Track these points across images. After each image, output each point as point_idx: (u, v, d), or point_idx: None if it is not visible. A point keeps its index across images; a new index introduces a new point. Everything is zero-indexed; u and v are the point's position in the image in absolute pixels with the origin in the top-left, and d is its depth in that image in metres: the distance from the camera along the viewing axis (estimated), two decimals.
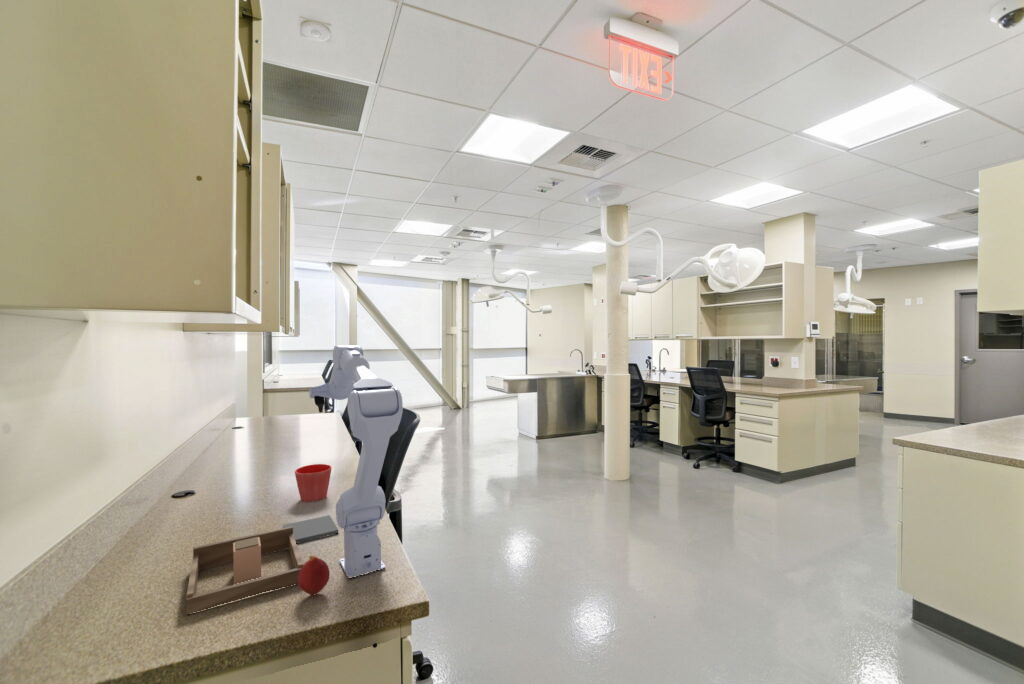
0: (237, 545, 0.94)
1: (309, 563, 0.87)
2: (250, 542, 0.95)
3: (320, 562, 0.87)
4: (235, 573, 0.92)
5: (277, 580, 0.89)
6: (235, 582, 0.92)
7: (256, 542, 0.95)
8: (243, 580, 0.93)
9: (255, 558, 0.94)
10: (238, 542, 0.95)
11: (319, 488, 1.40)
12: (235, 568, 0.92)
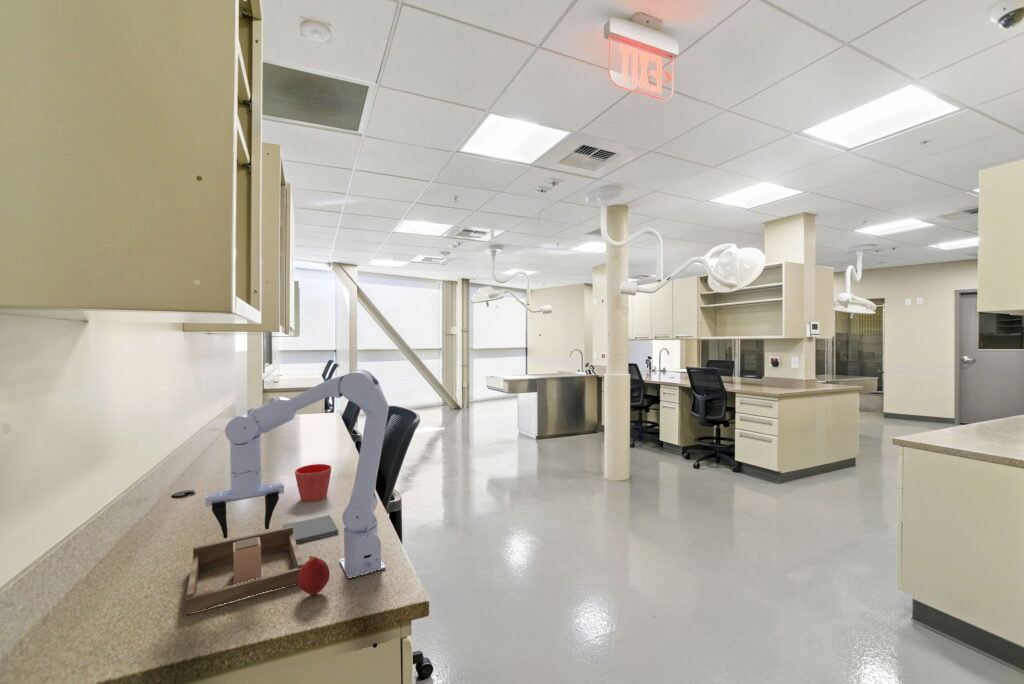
0: (237, 545, 0.94)
1: (309, 563, 0.87)
2: (250, 542, 0.95)
3: (320, 562, 0.87)
4: (235, 573, 0.92)
5: (277, 580, 0.89)
6: (235, 582, 0.92)
7: (256, 542, 0.95)
8: (243, 580, 0.93)
9: (255, 558, 0.94)
10: (238, 542, 0.95)
11: (319, 488, 1.40)
12: (235, 568, 0.92)
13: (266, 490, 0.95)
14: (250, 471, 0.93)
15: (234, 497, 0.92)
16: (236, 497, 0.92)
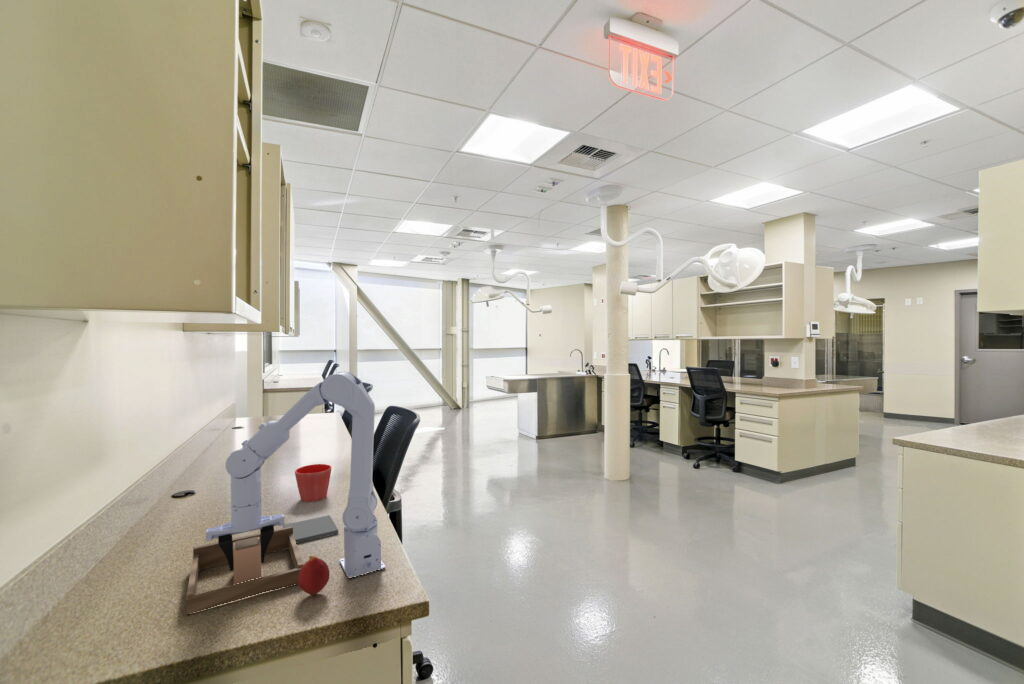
0: (237, 545, 0.94)
1: (309, 563, 0.87)
2: (250, 542, 0.95)
3: (320, 562, 0.87)
4: (235, 573, 0.92)
5: (277, 580, 0.89)
6: (235, 582, 0.92)
7: (256, 542, 0.95)
8: (243, 580, 0.92)
9: (255, 558, 0.94)
10: (238, 542, 0.95)
11: (319, 488, 1.40)
12: (235, 568, 0.92)
13: (266, 523, 0.95)
14: (250, 505, 0.93)
15: (235, 531, 0.92)
16: (237, 531, 0.92)
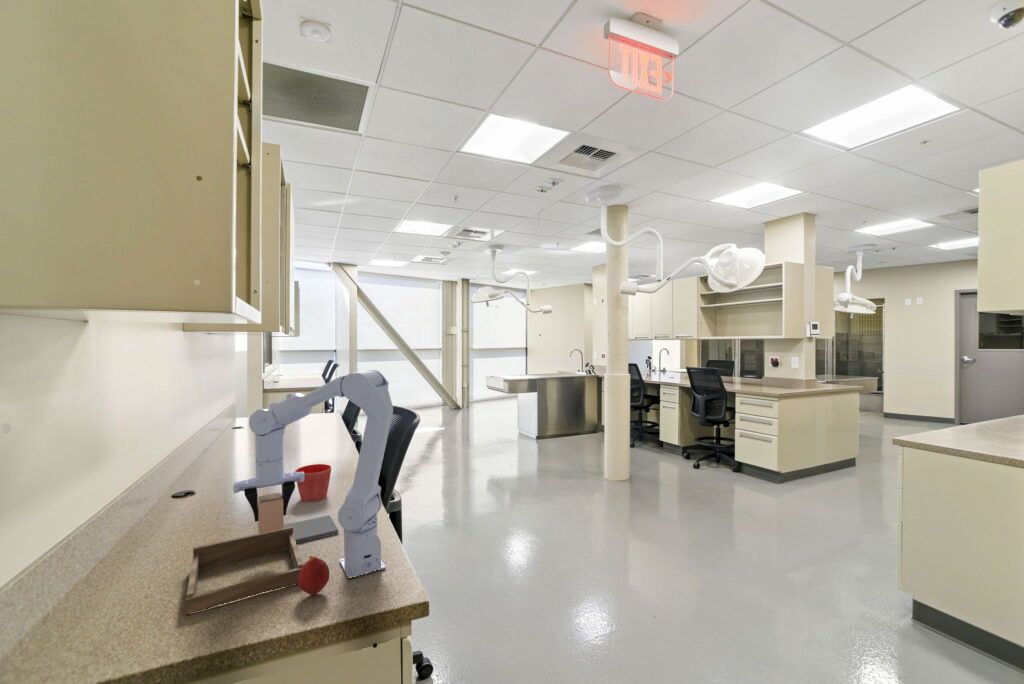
0: (261, 498, 1.01)
1: (309, 563, 0.87)
2: (273, 496, 1.02)
3: (320, 562, 0.87)
4: (260, 523, 0.99)
5: (277, 580, 0.89)
6: (260, 532, 0.99)
7: (278, 496, 1.02)
8: (267, 530, 1.00)
9: (278, 510, 1.01)
10: (262, 496, 1.03)
11: (319, 488, 1.40)
12: (260, 519, 0.99)
13: (288, 478, 1.03)
14: (274, 460, 1.01)
15: (259, 484, 0.99)
16: (261, 484, 0.99)
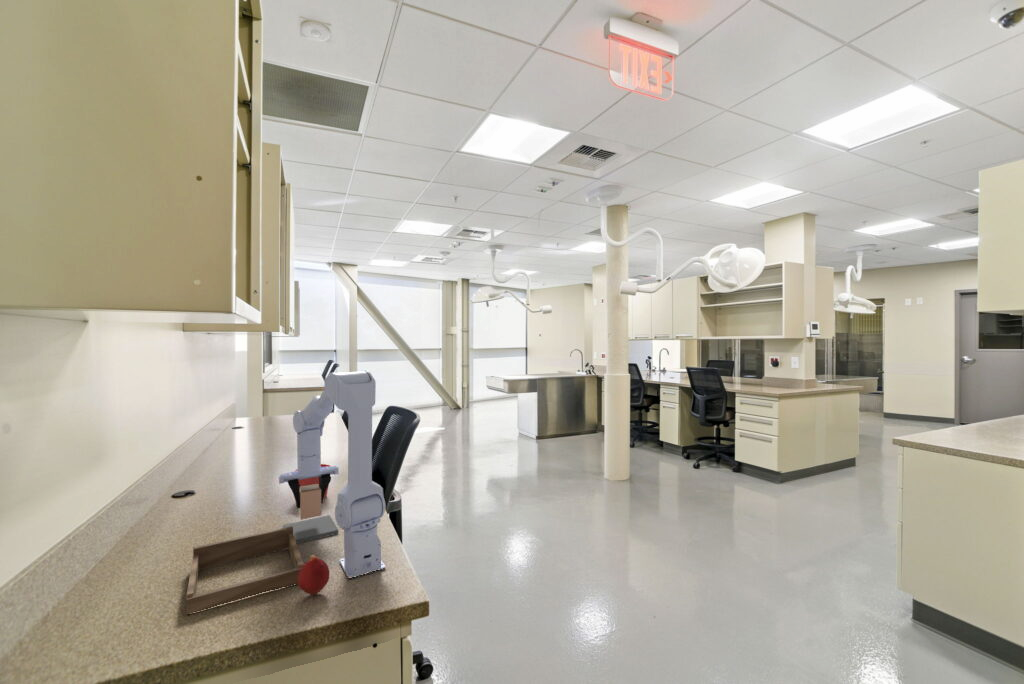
0: (302, 488, 1.16)
1: (309, 563, 0.87)
2: (312, 487, 1.18)
3: (320, 562, 0.87)
4: (301, 510, 1.14)
5: (277, 580, 0.89)
6: (301, 517, 1.14)
7: (317, 487, 1.17)
8: (307, 516, 1.15)
9: (317, 499, 1.16)
10: (302, 487, 1.18)
11: None
12: (301, 506, 1.14)
13: (325, 471, 1.18)
14: (313, 455, 1.16)
15: (301, 476, 1.14)
16: (303, 476, 1.14)
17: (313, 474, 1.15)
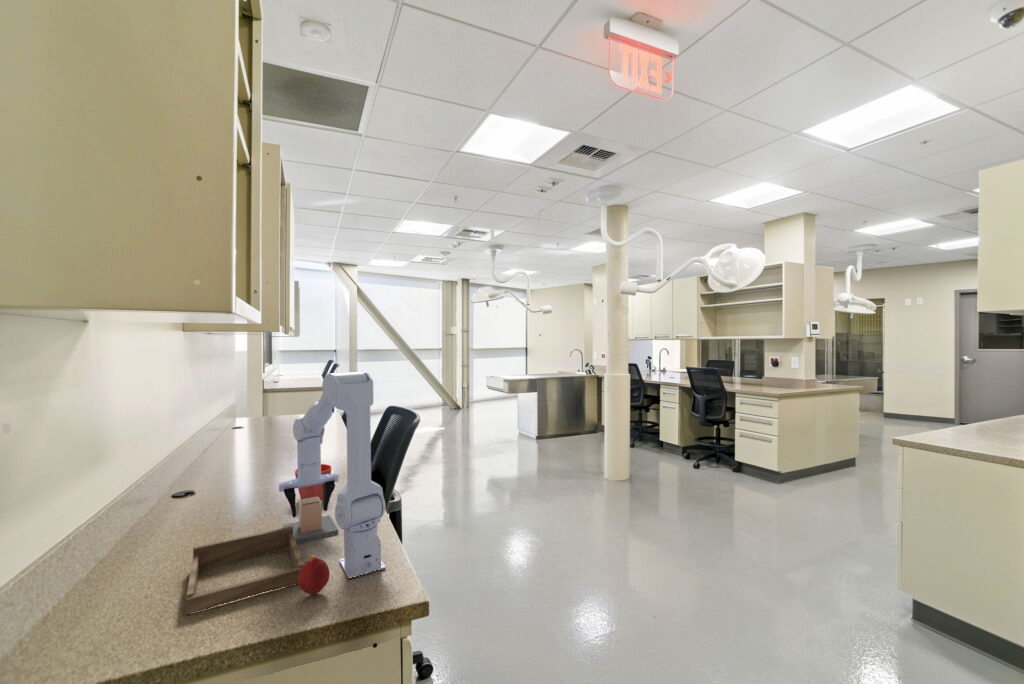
0: (302, 502, 1.16)
1: (309, 563, 0.87)
2: (312, 500, 1.18)
3: (320, 562, 0.87)
4: (302, 523, 1.14)
5: (277, 580, 0.89)
6: (302, 530, 1.14)
7: (317, 500, 1.18)
8: (308, 529, 1.15)
9: (317, 512, 1.16)
10: (302, 500, 1.18)
11: (319, 488, 1.40)
12: (302, 519, 1.14)
13: (325, 479, 1.18)
14: (313, 463, 1.16)
15: (301, 484, 1.14)
16: (303, 484, 1.14)
17: (313, 482, 1.15)
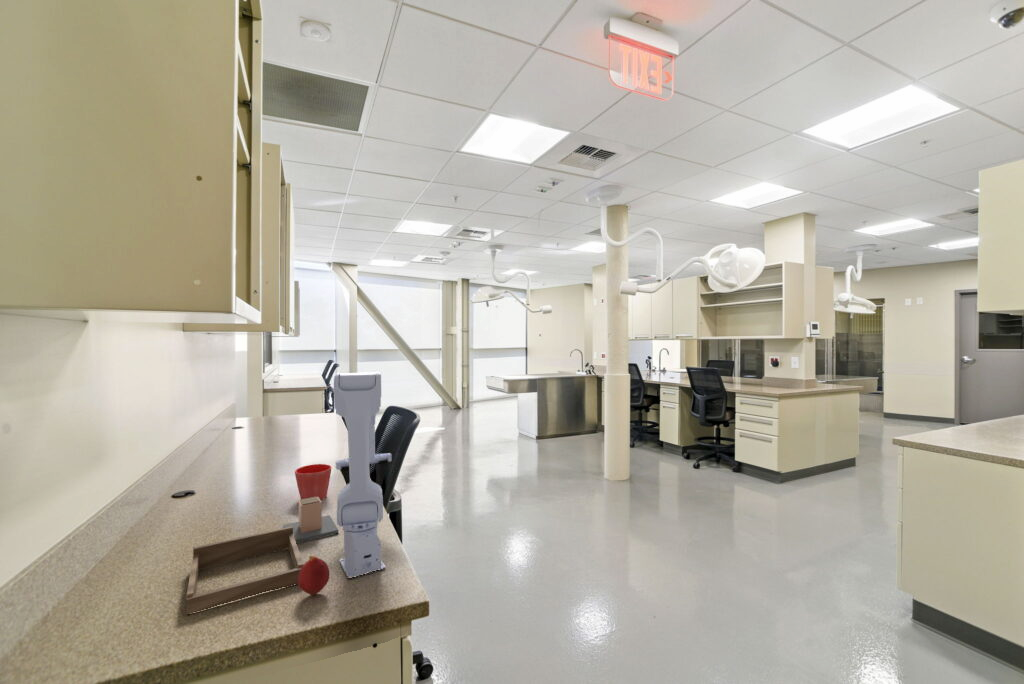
0: (302, 502, 1.16)
1: (309, 563, 0.87)
2: (312, 500, 1.18)
3: (320, 562, 0.87)
4: (302, 523, 1.14)
5: (277, 580, 0.89)
6: (302, 530, 1.14)
7: (317, 500, 1.18)
8: (308, 529, 1.15)
9: (317, 512, 1.16)
10: (302, 500, 1.18)
11: (319, 488, 1.40)
12: (302, 519, 1.14)
13: (380, 458, 1.20)
14: (369, 442, 1.18)
15: None
16: None
17: (369, 460, 1.17)
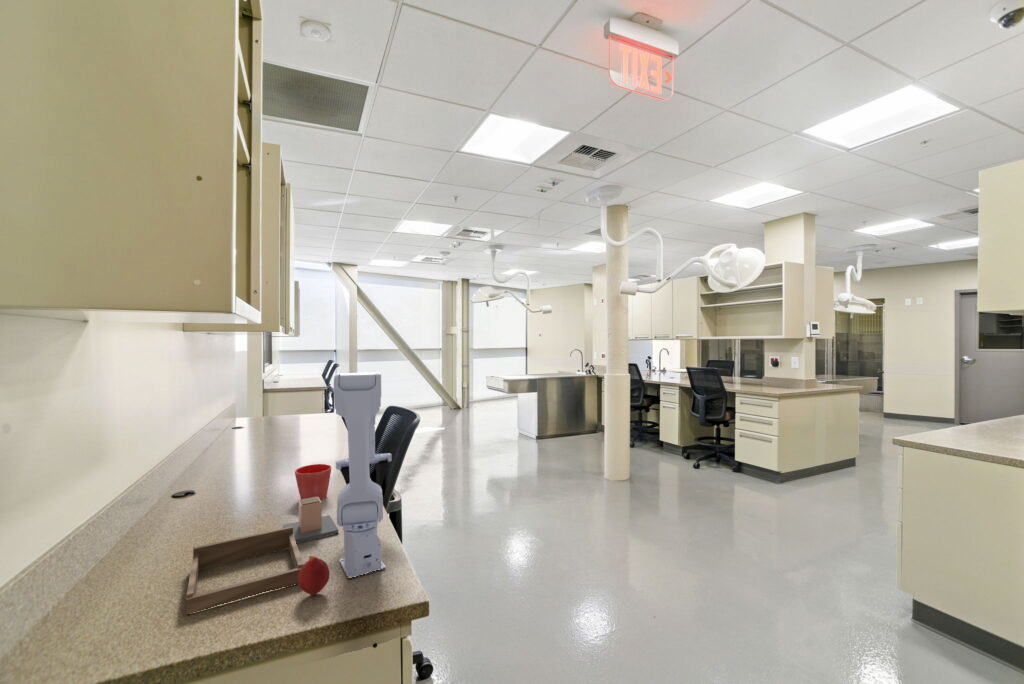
0: (302, 502, 1.16)
1: (309, 563, 0.87)
2: (312, 500, 1.18)
3: (320, 562, 0.87)
4: (302, 523, 1.14)
5: (277, 580, 0.89)
6: (302, 530, 1.14)
7: (317, 500, 1.18)
8: (308, 529, 1.15)
9: (317, 512, 1.16)
10: (302, 500, 1.18)
11: (319, 488, 1.40)
12: (302, 519, 1.14)
13: (380, 458, 1.20)
14: (369, 442, 1.18)
15: None
16: None
17: (369, 460, 1.17)
